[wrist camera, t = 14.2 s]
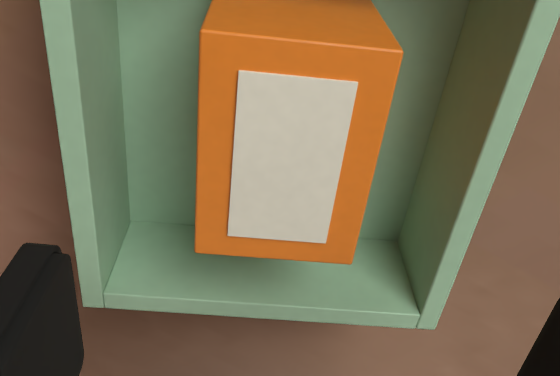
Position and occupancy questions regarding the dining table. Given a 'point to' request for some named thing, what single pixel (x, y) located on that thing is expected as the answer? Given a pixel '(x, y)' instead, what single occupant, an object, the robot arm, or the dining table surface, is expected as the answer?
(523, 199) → the dining table surface
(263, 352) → the dining table surface
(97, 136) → the green open tray
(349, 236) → the package
